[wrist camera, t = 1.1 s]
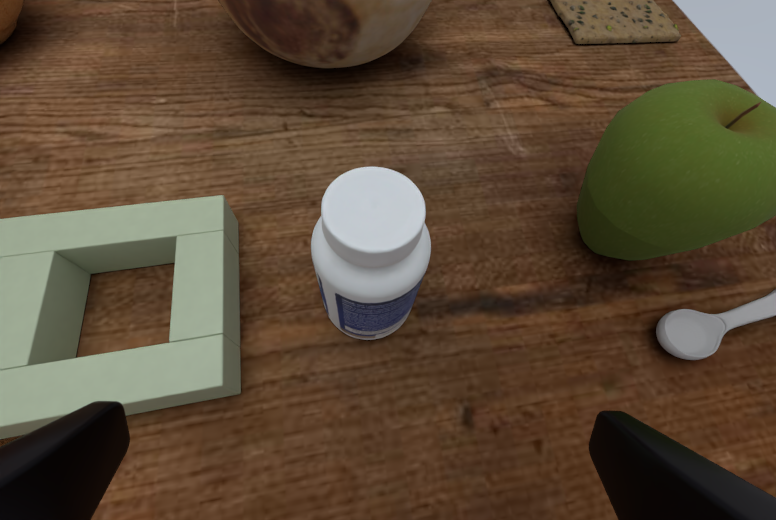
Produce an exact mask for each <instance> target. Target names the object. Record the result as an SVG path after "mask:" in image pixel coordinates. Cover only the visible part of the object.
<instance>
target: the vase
mask: <svg viewBox="0 0 776 520" xmlns="http://www.w3.org/2000/svg"><path fill="white" fill-rule="evenodd" d="M23 3H24V0H0V45H1V44H2V43H4V42H5V41H6V40H7V39H8V38H9V37H10V36H11V35H12V34H13V32H14V31H15V28H16V25H17V20H18V16H19V14H20V12H21V9H22V7H23Z"/></svg>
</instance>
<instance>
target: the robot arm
mask: <svg viewBox="0 0 776 520" xmlns="http://www.w3.org/2000/svg"><path fill="white" fill-rule="evenodd" d="M129 442H130V435H129V430H128V425H127V420H126V415H125V410H124V406H123V405H122V404H121V403H120V402H118V401H95V402H92V403H90V404H88V405H86V406H83V407H81V408H79V409H77V410H75V411H73V412H71V413H69V414H67V415H65V416H63V417H61V418H59V419H57V420H55V421H53V422H51V423H48V424H46V425H44V426H42V427H40V428H38V429H36V430H34V431H32V432H30V433H28V434H26V435H24V436H22V437H20V438H18V439H16V440H14V441H11V442H9V443H7V444H5V445H3V446H1V447H0V520H91V518H92V516H93V514H94V512H95V510H96V508H97V507H98V505H99V503H100V501H101V499H102V497H103V495H104V493H105V492H106V490H107V488H108V486H109V484H110V482H111V480H112V478H113V477H114V475H115V473H116V471H117V469H118V467H119V465H120V463H121V461H122V460H123V458H124V456H125V454H126V452H127V449H128V447H129ZM589 452H590V456H591V459H592V461H593V463H594V465H595V468H596V470H597V472H598V474H599V477H600V479H601V481H602V483H603V486H604V488H605V490H606V492H607V495H608V497H609V499H610V502H611V504H612V506H613V508H614V511H615V513H616V515H617V517H618V520H776V498H775V497H773V496H772V495H770V494H768V493H766V492H765V491H763V490H761V489H759V488H758V487H756V486H754V485H752V484H750V483H749V482H747V481H745V480H743V479H742V478H740V477H738V476H736V475H735V474H733V473H731V472H729V471H727V470H726V469H724V468H722V467H720V466H719V465H717V464H715V463H713V462H712V461H710V460H708V459H706V458H704V457H703V456H701V455H699V454H697V453H696V452H694V451H692V450H690V449H689V448H687V447H685V446H683V445H681V444H680V443H678V442H676V441H674V440H673V439H671V438H669V437H667V436H666V435H664V434H662V433H660V432H658V431H657V430H655V429H653V428H651V427H650V426H648V425H646V424H644V423H643V422H641V421H639V420H637V419H635V418H634V417H632V416H630V415H628V414H627V413H625V412H622V411H601V412H600V413H599V414H598V415H597V417H596V421H595V424H594V428H593V431H592V435H591V438H590V441H589Z"/></svg>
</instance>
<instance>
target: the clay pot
mask: <svg viewBox="0 0 776 520" xmlns="http://www.w3.org/2000/svg"><path fill="white" fill-rule="evenodd" d="M218 1H219V2H220V4H221V5H222V7H223V8H224V10H225V11H226V12H227V13H228V15H229V16H230V17H231V19H232V20H233V21H234V23H235V24H236V25H237V27H238V28H239V29H240V30H241V31H242V32H243V33H244V34H245V35H246V36H247V37H249V38H250V39H251V40H252V41H254V42H255V43H256V44H258V45H259V46H260V47H261V48H263V49H264V50H266V51H268V52H269V53H271V54H273V55H275V56H277V57H279V58H281V59H284V60H286V61H289V62H292V63H295V64H299V65H303V66H309V67H315V68H342V67H351V66H356V65H360V64H364V63H367V62H370V61H372V60H375V59H377V58H379V57H381V56H383V55H385V54H387V53H388V52H390V51H392V50H393V49H395V48H396V47H397V46H398V45H400V44H401V43H402V42H403V41H404V40H405V39H406V38H407V37H408V36H409V35H410V33H411V32H412V31H413V30H414V29H415V27H416V26H417V24H418V23H419V21H420V20H421V18H422V17H423V15H424V13H425V11H426V10H427V8H428V6H429V4H430V2H431V0H218Z"/></svg>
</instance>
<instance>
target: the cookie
mask: <svg viewBox="0 0 776 520" xmlns="http://www.w3.org/2000/svg"><path fill="white" fill-rule="evenodd" d="M550 1H551V3H552V5H553V7H554V9H555V10H556V12H557V13H558V16H560V17H561V19H562V20H563V22H564V23H565V25H566V26H567V27H568V29H569V31H570V34H571V35H572V37H573V40H574V42H575V43H576V44H600V43H603V44H604V43H638V42H643V43H644V42H668V41H669V42H673V41H678V40H679V39H680V37H681V35H680V34H679V32H678V28H677V25H676V24H673V22H672V21H671V20H670V19H669V18H668V15H667V14H665V13H664V12H662V10H661V9H660V8H659V6H658V5H657V4H656V3H655V2H654V1H653V0H550Z"/></svg>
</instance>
